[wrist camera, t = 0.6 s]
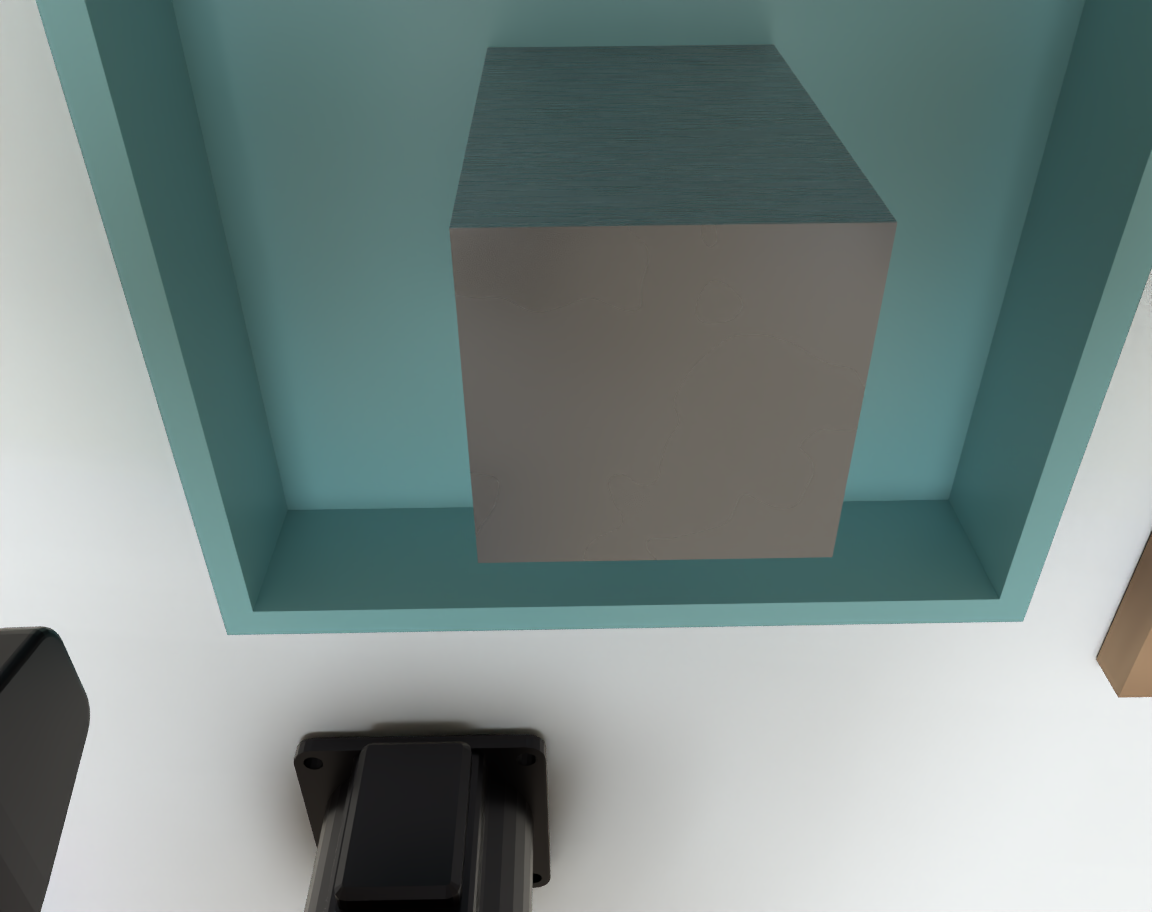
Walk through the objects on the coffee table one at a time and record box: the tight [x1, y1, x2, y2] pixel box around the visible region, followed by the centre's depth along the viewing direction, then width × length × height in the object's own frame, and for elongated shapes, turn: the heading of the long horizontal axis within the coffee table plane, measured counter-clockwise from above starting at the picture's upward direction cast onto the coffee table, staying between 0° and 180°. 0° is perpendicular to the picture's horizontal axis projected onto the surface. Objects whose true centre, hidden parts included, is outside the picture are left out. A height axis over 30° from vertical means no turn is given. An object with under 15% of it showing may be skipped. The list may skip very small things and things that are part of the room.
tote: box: [36, 0, 1152, 635], centre depth 16 cm, size 15×15×3 cm
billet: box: [449, 44, 897, 563], centre depth 14 cm, size 4×4×7 cm
